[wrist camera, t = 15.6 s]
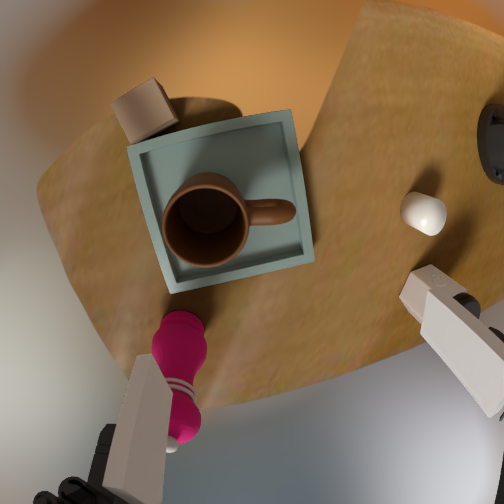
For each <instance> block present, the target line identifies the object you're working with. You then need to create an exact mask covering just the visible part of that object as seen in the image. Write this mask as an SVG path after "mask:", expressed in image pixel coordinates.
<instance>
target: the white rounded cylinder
mask: <svg viewBox="0 0 504 504" xmlns="http://www.w3.org/2000/svg"><path fill="white" fill-rule="evenodd" d="M400 214H401V218H402V220H403V221H404V222H405V223H406V224H408V225H410V226H412V227H414V228H416V229H418V230H420V231H421V232H423V233H425V234H427V235H430V236H433V235H436V234H437V233H439V232H440V231H441V230H442V228H443V226H444V224H445V222H446V217H447V211H446V207H445V205H444V203H443V202H442V201H441V200H439V199H436V198H433V197H430V196H428V195H425V194H422V193H419V192H410V193H408V194H407V195H406V196H405V197H404V199H403V201H402V203H401V207H400Z"/></svg>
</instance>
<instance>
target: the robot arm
mask: <svg viewBox="0 0 504 504" xmlns="http://www.w3.org/2000/svg"><path fill="white" fill-rule="evenodd" d="M478 150H479V156H480V160H481V164H482V166H483V169H484V171H485V173H486V175H487V176H488V178H489V179H490V180H491V181H492V182H494V183H497V184H500V185H504V105H501V104H490V105H488V106H486V107H485V108H484V110H483V111H482V113H481V116H480V119H479V124H478ZM420 334H421V335H422V337H423V338H424V339H425V340H426V341H427V342H428V343H429V344H430V346H431V347H432V348H433V349H434V350H435V351H436V353H437V354H438V355H439V356H440V357H441V358H442V360H443V361H444V362H445V363H446V364H447V366H448V367H449V368H450V369H451V370H452V371H453V373H454V374H455V375H456V376H457V378H458V379H459V380H460V381H461V383H462V384H463V385H464V386H465V388H466V389H467V390H468V391H469V393H470V394H471V395H472V396H473V398H474V399H475V400H476V402H477V403H478V404H479V405H480V407H481V408H482V409H483V411H484V412H485V414H486V415H487V416H488V417H489V418H491V417H492V416H493V415H495V414H496V413H497V412H499V411H500V410H501V408H502V407H503V405H504V334H503V333H501V332H500V331H499V330H497V329H494V328H492V327H489V328H487V327H486V326H485V325H484V324H483V323H482V322H481V321H479V320H478V319H477V318H476V317H475V316H474V315H473V314H471V313H470V312H469V311H468V310H467V309H466V308H464V307H463V306H462V305H461V304H460V303H458V302H457V301H456V300H455V299H454V298H452V297H451V296H450V295H449V294H448V293H446V292H445V291H444V290H443V289H441V288H440V287H439V286H438V287H435V288H432V289H429V290H427V297H426V304H425V310H424V316H423V321H422V326H421V332H420ZM172 397H173V392H172V391H171V389H170V387H169V385H168V383H167V382H166V380H165V378H164V376H163V374H162V372H161V370H160V368H159V366H158V364H157V362H156V360H155V358H154V356H153V354H145V355H137V357H136V360H135V363H134V366H133V369H132V373H131V376H130V379H129V382H128V386H127V389H126V392H125V396H124V399H123V403H122V406H121V410H120V413H119V417H118V421H117V424H106V426H105V427H104V428H103V430H102V431H101V433H100V435H99V439H98V442H97V444H98V445H97V446H96V450H95V454H94V457H93V461H92V465H91V469H90V473H89V477H88V482H85V481H84V480H82V479H80V478H79V477H68V478H66V479H65V480H63V481H62V482H61V484H60V486H59V489H58V494H59V497H56V496H55V495H53V494H52V493H50V492H48V491H41V492H39V493H38V494H37V495H36V496H35V498H34V501H33V504H162V491H163V479H164V467H165V455H166V447H167V437H168V429H169V420H170V412H171V404H172ZM503 418H504V412H503V414H502V415H501V417H500V421H502V419H503ZM495 504H504V455H503V462H502V468H501V475H500V480H499V486H498V490H497V495H496V499H495Z"/></svg>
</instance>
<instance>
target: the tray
mask: <svg viewBox="0 0 504 504" xmlns="http://www.w3.org/2000/svg"><path fill="white" fill-rule="evenodd" d="M127 151H128V155H129V160H130V164H131V168H132V172H133V176H134V180H135V183H136V187H137V191H138V195H139V198H140V202H141V205H142V209H143V212H144V216H145V219H146V223H147V226H148V229H149V233H150V236H151V239H152V242H153V245H154V248H155V251H156V254H157V257H158V260H159V263H160V266H161V269H162V272H163V275H164V278H165V281H166V284H167V286H168V289H169V292H170V294H173V293H177V292H182V291H187V290H191V289H196V288H201V287H205V286H210V285H214V284H219V283H223V282H228V281H232V280H237V279H241V278H245V277H250V276H254V275H259V274H263V273H267V272H271V271H276V270H280V269H284V268H288V267H293V266H297V265H301V264H305V263H309V262H313V261H315V259H314V251H313V243H312V235H311V227H310V219H309V212H308V205H307V198H306V192H305V185H304V179H303V173H302V167H301V161H300V155H299V149H298V144H297V138H296V133H295V128H294V122H293V117H292V112H291V109H289V110H282V111H274V112H268V113H262V114H256V115H250V116H244V117H239V118H234V119H229V120H224V121H219V122H214V123H210V124H206V125H201V126H197V127H193V128H189V129H185V130H181V131H178V132H174V133H170V134H167V135H163V136H160V137H156V138H153V139H150V140H146V141H143V142H140V143H137V144H134V145H131V146H128V147H127ZM206 172H212V173H217V174H220V175H223V176H225V177H227V178H228V179H230V180H231V181H232V182H233V183H234V184H235V185H236V187H237V188H238V190H239V192H240V194H241V196H242V198H243V199H246V200H258V199H284V200H288V201H290V202H292V203H293V204H294V206H295V207H296V215H295V216H294V218H293V219H292V220H291V221H289V222H287V223H283V224H278V225H260V226H250V227H249V234H248V238H247V240H246V243H245V245H244V247H243V248H242V250H241V251H240V252H239V253H238V254H237V255H236V256H235V257H234V258H233V259H232V260H230V261H228V262H227V263H225V264H222V265H219V266H216V267H209V268H202V267H195V266H192V265H189V264H187V263H185V262H183V261H181V260H180V259H178V258H177V257H176V256H175V255H174V254H173V253H172V252H171V251H170V249H169V248H168V246H167V244H166V242H165V240H164V237H163V234H162V217H163V213H164V210H165V208H166V205H167V203H168V201H169V199H170V198H171V196H172V195H173V194H174V192H175V191H176V190H177V189H178V188H179V187H180V186H181V185H182V184H183V183H184V182H185V181H186V180H187V179H189V178H190V177H192V176H194V175H197V174H200V173H206Z"/></svg>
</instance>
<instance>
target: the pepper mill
mask: <svg viewBox="0 0 504 504" xmlns="http://www.w3.org/2000/svg"><path fill="white" fill-rule="evenodd" d="M152 354H153V356H154V358H155V360H156V362H157V364H158V366H159V368H160V370H161V372H162V374H163V376H164V378H165V380H166V382H167V383H168V385H169V387H170V389H171V391H172V392H173V397H172V404H171V412H170V420H169V429H168V437H167V447H166V452H168V453H172V452H175V451H176V450H177V449H178V444H181V443H184V442H187V441H189V440H191V439H192V438H193V437H194V436H195V435H196V434H197V433H198V431H199V429H200V425H201V414H200V412H199V409H198V408H197V406H196V397H197V394H196V391H195V389H194V388H193V379H194V376H195V374H196V373H197V371H198V370H199V369H200V368H201V367H202V365H203V363H204V361H205V359H206V354H207V344H206V341H205V338H204V327H203V324H202V322H201V321H200V319H199V318H198V317H196V316H195V315H194V314H192V313H189V312H187V311H173V312H171V313H169V314H167V315H166V316H165V317H164V318H163V319H162V321H161V324H160V328H159V330H158V331H157V332H156V333H155V335H154V337H153V340H152Z"/></svg>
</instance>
